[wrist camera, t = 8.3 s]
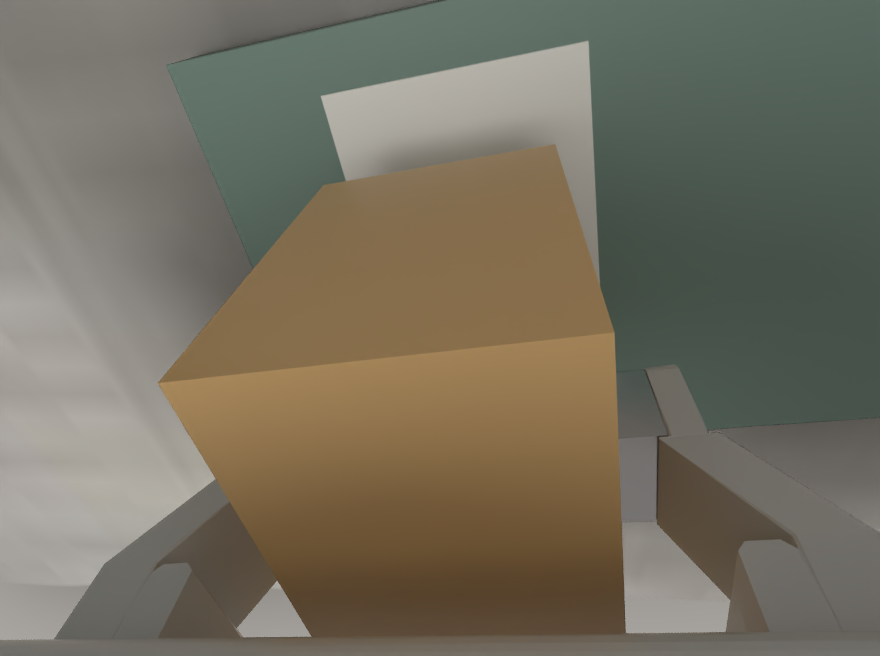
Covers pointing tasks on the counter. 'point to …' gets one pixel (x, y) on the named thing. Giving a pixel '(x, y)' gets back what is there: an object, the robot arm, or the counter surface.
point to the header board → (612, 164)
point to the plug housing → (422, 407)
